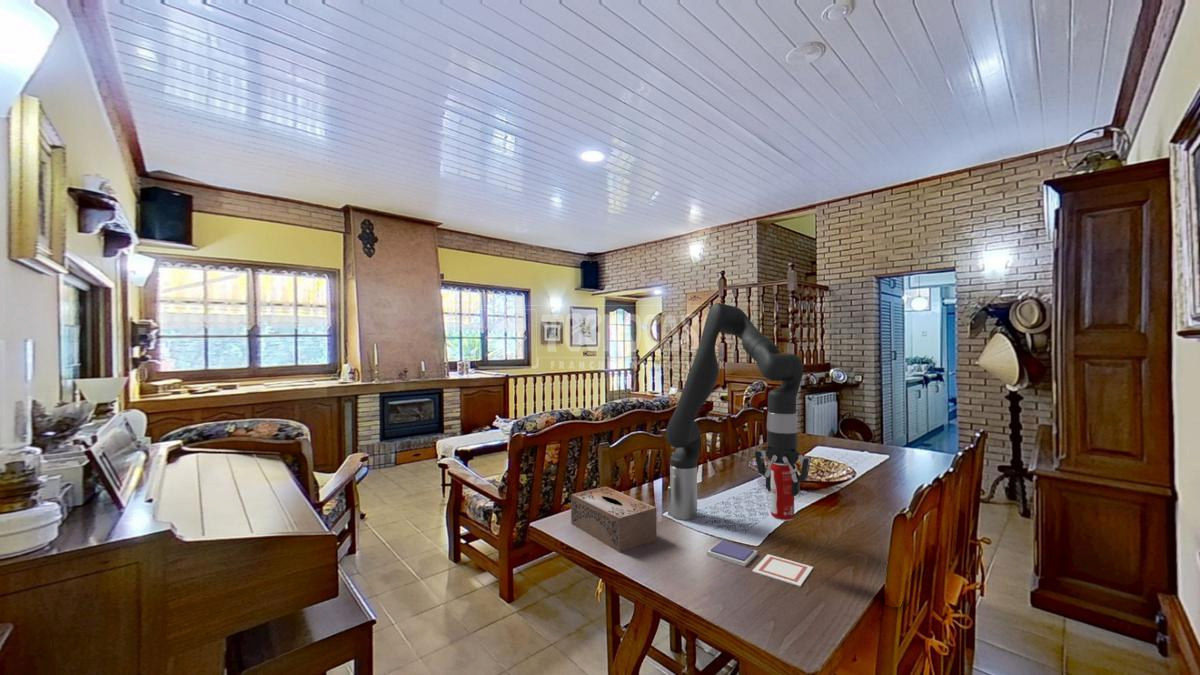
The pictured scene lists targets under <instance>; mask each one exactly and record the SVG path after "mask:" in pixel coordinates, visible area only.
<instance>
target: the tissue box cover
mask: <svg viewBox="0 0 1200 675" xmlns="http://www.w3.org/2000/svg"><path fill="white" fill-rule="evenodd" d="M570 524H571V525H573V526H575V527H576V528H577V529H579V530H581V531H583V532H584V533H586V534H587V535H590V536H591V537H592V538H595V539H596V540H598V541H599V542H601V543H602V544H604V545H606V546H608V547H609V548H611V549H613V550H614V551H615V552H617V553H622V552H625V551H627V550H631V549H633V548H636V547H639V546H643V545H645V544H648V543H650V542H654V541H657V507H656V506H653V505H651V504H648V503H646V502H644V501H641V499H640V500H639V499H637V498H634V497H632V496H630V495H627V494H625V493H623V492H621V491H619V490H616V489H614V488H611V487H610V486H609V487H608V486H602V487H598V488H597V487H596V488H593V489H588V490H584V491H579V492H575V493H572V494H570Z"/></svg>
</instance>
